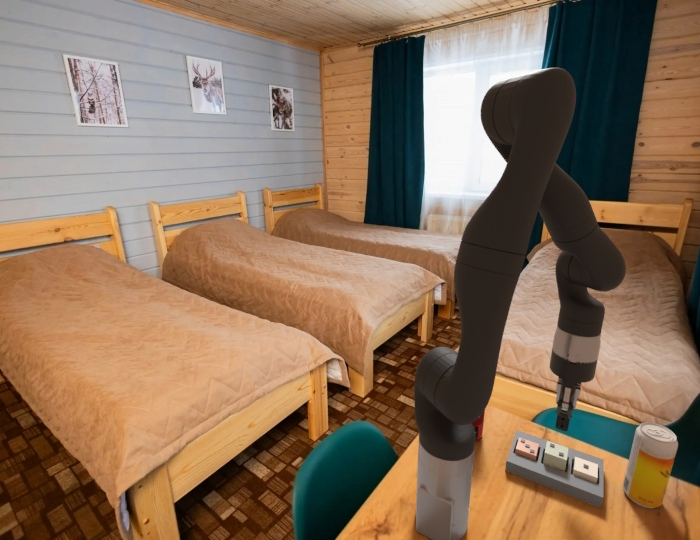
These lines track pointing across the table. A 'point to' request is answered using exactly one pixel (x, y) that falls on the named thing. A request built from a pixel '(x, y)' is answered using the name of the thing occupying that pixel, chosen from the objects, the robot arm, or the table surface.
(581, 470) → the tile one cream
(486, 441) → the table surface
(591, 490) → the slate board
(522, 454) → the tile three terracotta
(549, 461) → the tile two sage
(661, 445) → the beer can
